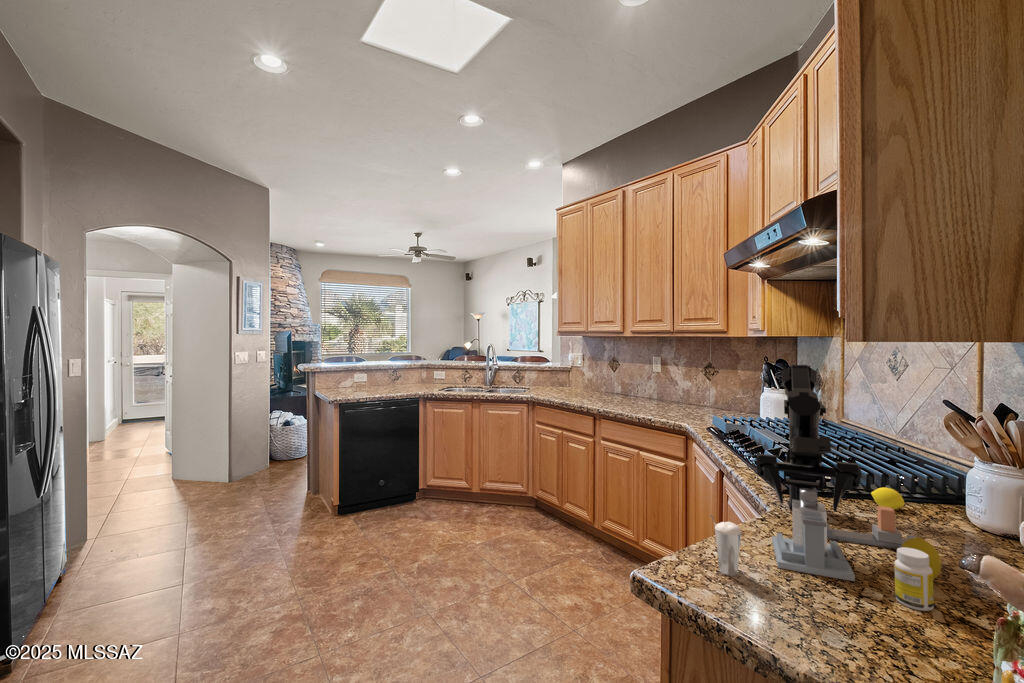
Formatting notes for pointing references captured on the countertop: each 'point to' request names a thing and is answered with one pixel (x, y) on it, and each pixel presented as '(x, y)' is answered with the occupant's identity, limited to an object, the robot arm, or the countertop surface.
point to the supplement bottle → (914, 579)
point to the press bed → (808, 570)
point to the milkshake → (728, 547)
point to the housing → (809, 508)
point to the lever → (886, 526)
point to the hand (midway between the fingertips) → (807, 506)
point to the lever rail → (861, 538)
